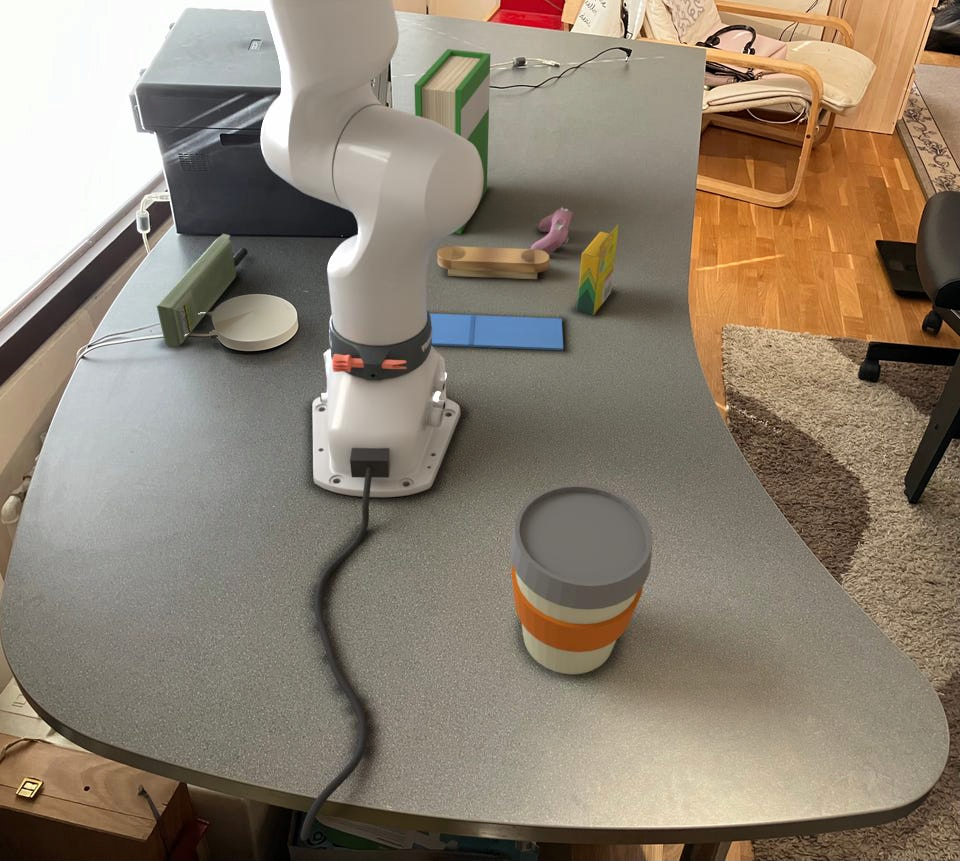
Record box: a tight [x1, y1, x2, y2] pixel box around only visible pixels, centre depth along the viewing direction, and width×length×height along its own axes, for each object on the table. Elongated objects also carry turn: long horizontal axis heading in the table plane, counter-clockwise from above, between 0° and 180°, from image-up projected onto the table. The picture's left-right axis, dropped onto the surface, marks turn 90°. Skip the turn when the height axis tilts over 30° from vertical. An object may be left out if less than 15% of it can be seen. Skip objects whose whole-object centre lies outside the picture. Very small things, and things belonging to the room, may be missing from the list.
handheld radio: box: [156, 233, 249, 348], centre depth 128 cm, size 7×3×25 cm
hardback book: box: [414, 48, 491, 235], centre depth 146 cm, size 18×7×24 cm, turn 165°
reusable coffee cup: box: [509, 483, 653, 675], centre depth 81 cm, size 12×13×15 cm
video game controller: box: [530, 206, 574, 255], centre depth 143 cm, size 10×5×7 cm, turn 169°
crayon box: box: [576, 224, 619, 316], centre depth 128 cm, size 7×3×12 cm, turn 152°
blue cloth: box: [429, 312, 564, 351], centre depth 125 cm, size 8×20×1 cm, turn 88°
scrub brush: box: [436, 245, 550, 280], centre depth 137 cm, size 18×4×3 cm, turn 88°
